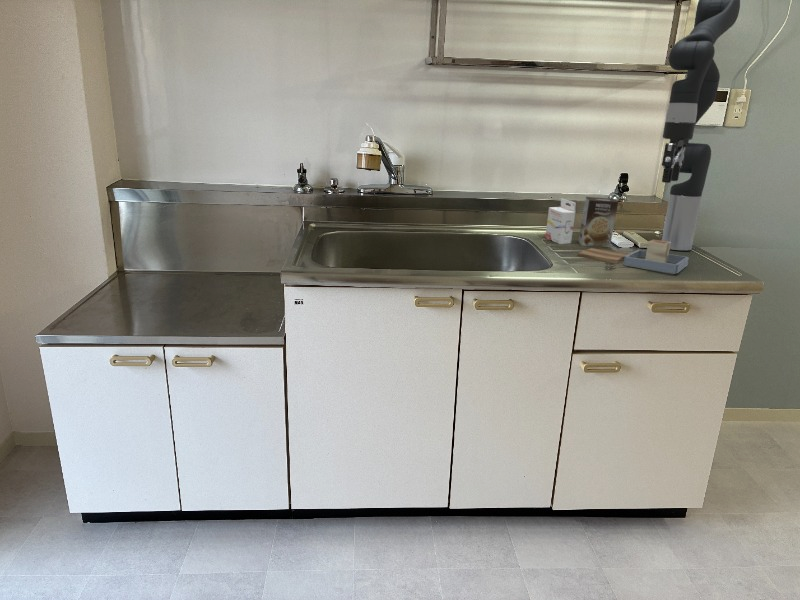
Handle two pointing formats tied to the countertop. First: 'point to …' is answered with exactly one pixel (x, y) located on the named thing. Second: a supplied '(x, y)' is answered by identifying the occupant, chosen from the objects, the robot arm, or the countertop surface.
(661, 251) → the block
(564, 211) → the ink cartridge box
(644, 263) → the bin
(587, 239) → the coffee box
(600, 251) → the board
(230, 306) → the countertop surface
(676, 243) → the robot arm
